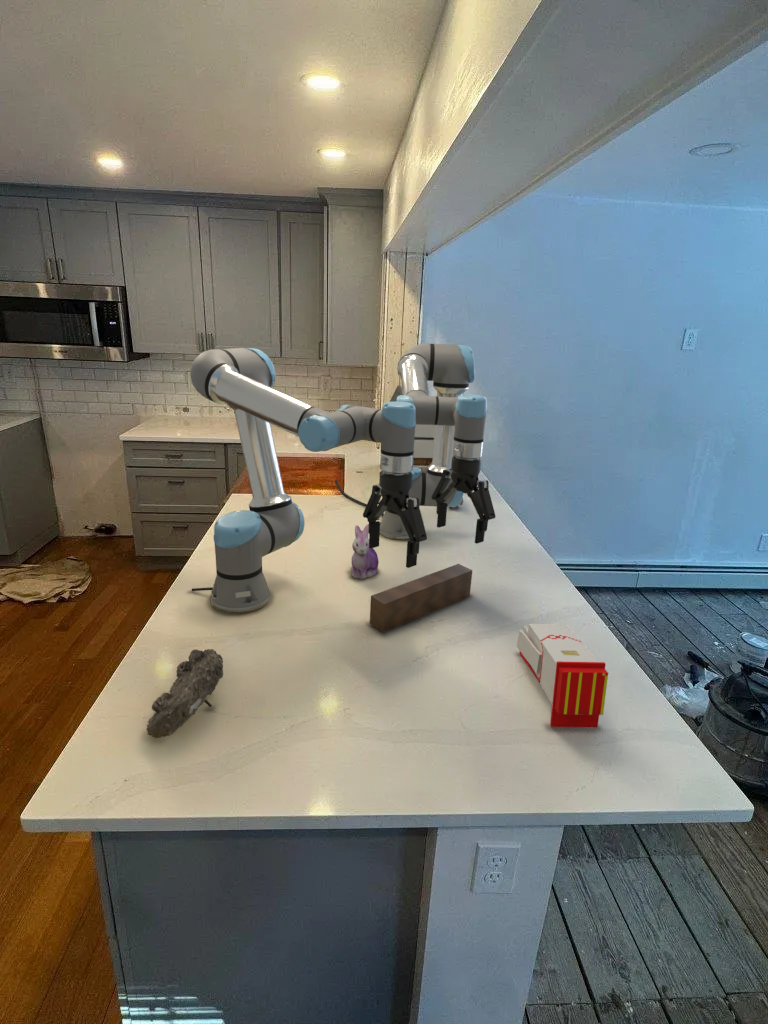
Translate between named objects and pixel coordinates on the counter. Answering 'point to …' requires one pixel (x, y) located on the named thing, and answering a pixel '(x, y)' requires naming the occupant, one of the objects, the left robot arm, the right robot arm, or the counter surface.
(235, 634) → the counter surface
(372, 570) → the figurine
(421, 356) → the right robot arm
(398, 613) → the plank
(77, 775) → the counter surface
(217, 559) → the left robot arm
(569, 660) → the toy
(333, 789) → the counter surface
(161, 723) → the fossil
